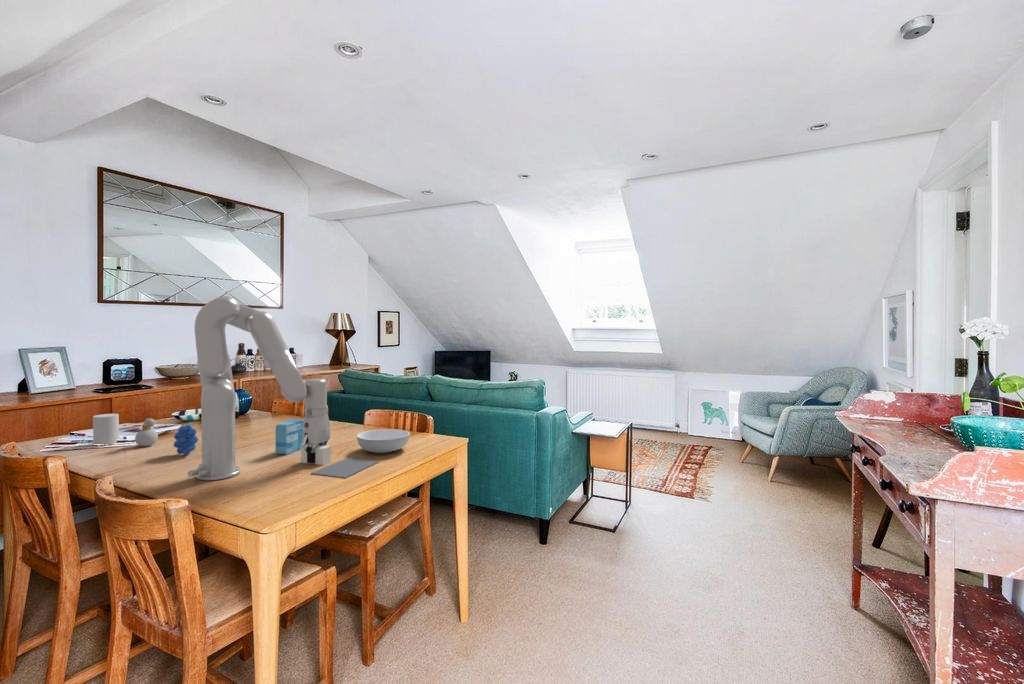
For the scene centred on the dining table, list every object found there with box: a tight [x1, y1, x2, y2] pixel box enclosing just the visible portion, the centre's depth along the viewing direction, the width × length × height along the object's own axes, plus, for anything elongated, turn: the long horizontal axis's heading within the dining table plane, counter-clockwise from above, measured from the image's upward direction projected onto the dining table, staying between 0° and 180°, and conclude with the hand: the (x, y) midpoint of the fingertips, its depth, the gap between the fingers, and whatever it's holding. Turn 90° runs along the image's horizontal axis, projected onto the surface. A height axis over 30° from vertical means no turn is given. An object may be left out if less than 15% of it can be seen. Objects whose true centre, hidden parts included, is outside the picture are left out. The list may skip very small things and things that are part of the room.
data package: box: [275, 418, 304, 456], centre depth 186 cm, size 12×4×12 cm, turn 170°
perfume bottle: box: [134, 417, 159, 447], centre depth 192 cm, size 8×10×12 cm
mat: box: [310, 457, 381, 479], centre depth 166 cm, size 20×14×1 cm
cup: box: [92, 413, 120, 445], centre depth 194 cm, size 8×8×12 cm
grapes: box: [173, 424, 199, 456], centre depth 180 cm, size 12×7×12 cm, turn 71°
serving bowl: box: [356, 428, 411, 454], centre depth 190 cm, size 21×21×7 cm
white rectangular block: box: [300, 444, 332, 466], centre depth 172 cm, size 4×10×6 cm, turn 73°
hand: (315, 460), depth 172 cm, fingers closed on white rectangular block, 4 cm apart
